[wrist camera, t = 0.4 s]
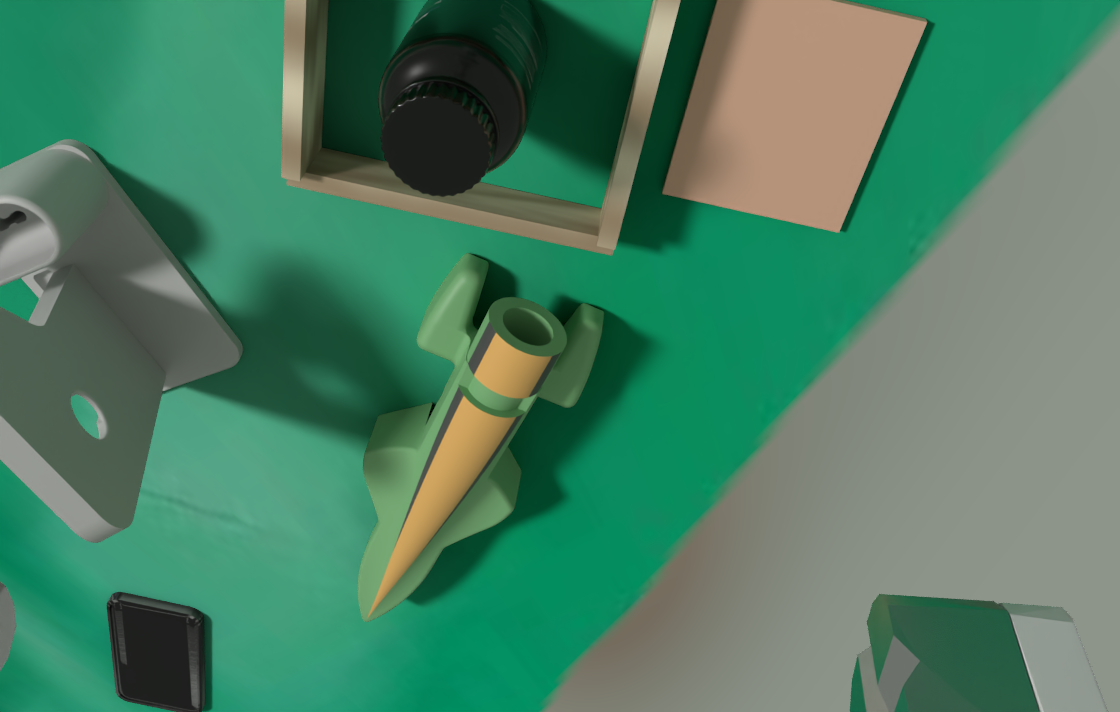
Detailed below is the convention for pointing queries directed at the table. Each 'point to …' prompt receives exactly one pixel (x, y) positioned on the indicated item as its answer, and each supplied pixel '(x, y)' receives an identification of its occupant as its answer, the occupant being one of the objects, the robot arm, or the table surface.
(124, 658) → the phone
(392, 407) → the table surface
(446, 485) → the toy crocodile
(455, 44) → the supplement bottle
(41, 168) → the phone holder
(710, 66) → the terracotta tile
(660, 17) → the beige square open box
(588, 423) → the table surface
